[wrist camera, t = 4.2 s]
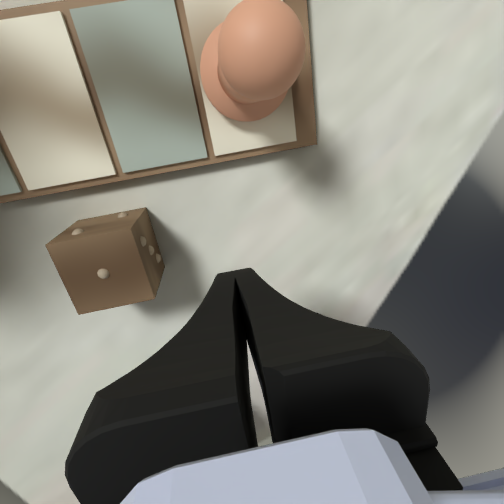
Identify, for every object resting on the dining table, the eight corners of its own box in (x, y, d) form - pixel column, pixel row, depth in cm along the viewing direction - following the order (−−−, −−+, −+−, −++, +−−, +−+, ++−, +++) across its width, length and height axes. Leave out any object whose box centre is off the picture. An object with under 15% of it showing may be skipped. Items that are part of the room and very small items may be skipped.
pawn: (292, 113, 16) (342, 108, 10) (211, 128, 16) (212, 132, 10) (282, 13, 15) (336, -67, 8) (190, 28, 14) (177, -43, 8)
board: (313, 143, 18) (318, 144, 17) (-76, 216, 17) (-89, 220, 16) (300, -31, 15) (305, -39, 14) (-184, 44, 13) (-207, 39, 13)
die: (167, 265, 20) (158, 300, 16) (102, 278, 20) (77, 316, 16) (148, 203, 18) (132, 225, 14) (77, 216, 18) (41, 242, 14)
